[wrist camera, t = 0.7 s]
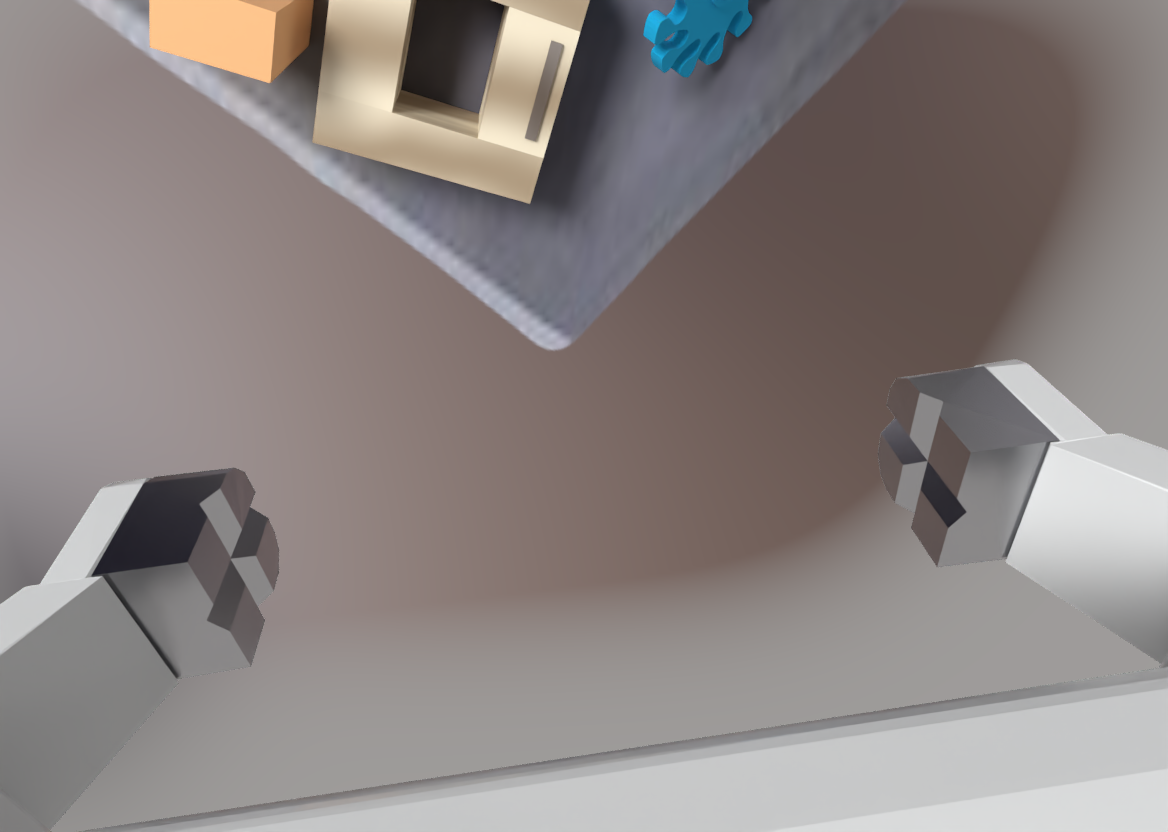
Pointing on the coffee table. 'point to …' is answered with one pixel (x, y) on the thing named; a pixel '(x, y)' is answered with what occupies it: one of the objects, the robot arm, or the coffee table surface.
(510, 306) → the coffee table surface
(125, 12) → the coffee table surface
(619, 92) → the coffee table surface
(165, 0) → the key peg
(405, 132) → the block
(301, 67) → the coffee table surface
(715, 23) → the gear
